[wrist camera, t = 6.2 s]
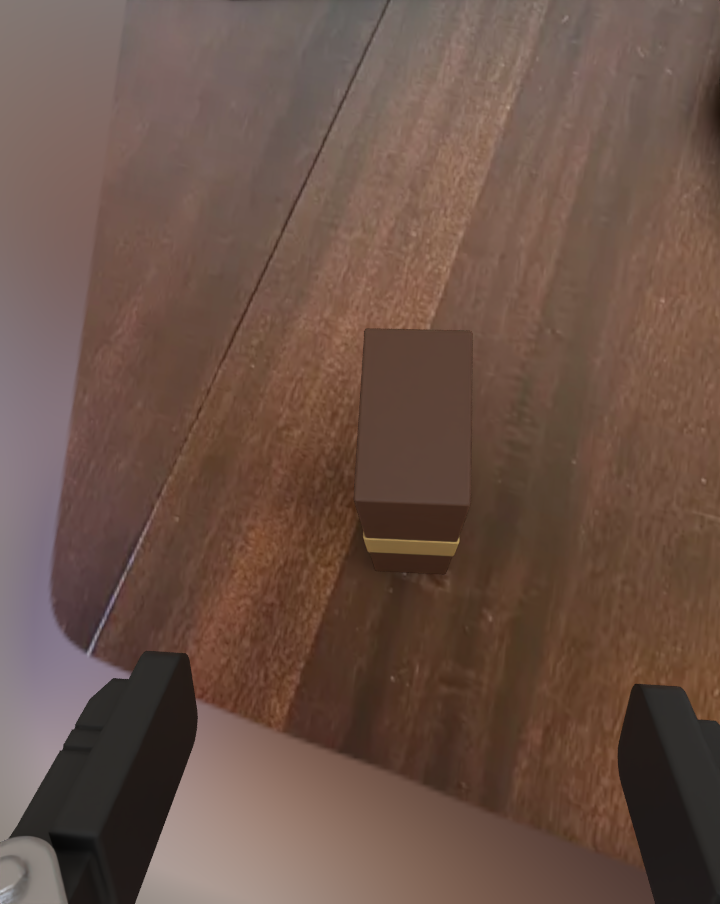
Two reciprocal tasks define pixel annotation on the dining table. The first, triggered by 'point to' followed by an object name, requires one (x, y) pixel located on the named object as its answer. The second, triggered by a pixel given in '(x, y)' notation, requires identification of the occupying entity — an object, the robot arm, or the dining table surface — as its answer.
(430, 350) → the chocolate bar
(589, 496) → the dining table surface
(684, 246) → the dining table surface
